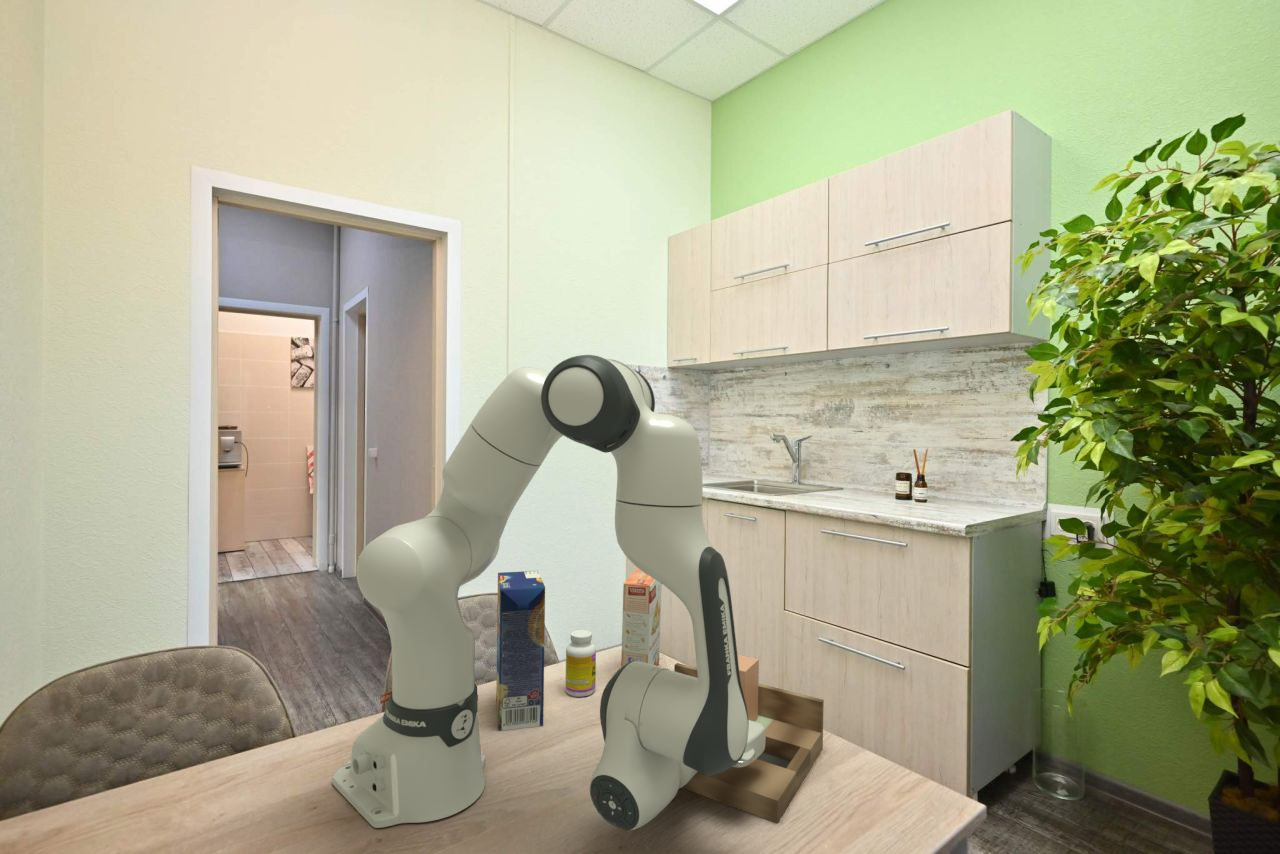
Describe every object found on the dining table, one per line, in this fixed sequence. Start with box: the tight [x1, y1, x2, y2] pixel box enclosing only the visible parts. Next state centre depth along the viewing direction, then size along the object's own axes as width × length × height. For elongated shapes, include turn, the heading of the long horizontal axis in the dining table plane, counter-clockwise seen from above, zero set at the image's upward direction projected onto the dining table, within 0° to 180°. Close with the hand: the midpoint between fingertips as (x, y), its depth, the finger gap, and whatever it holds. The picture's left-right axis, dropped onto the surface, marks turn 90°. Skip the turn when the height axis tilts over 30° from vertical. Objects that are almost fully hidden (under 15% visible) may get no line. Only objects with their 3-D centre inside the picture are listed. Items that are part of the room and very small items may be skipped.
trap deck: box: [673, 662, 825, 824], centre depth 98 cm, size 27×22×8 cm
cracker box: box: [620, 567, 663, 668], centre depth 127 cm, size 14×6×21 cm, turn 168°
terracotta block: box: [737, 654, 760, 722], centre depth 102 cm, size 6×6×10 cm
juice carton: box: [495, 570, 546, 732], centre depth 110 cm, size 12×8×24 cm, turn 15°
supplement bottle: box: [564, 629, 597, 698], centre depth 119 cm, size 6×6×11 cm
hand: (716, 705), depth 97 cm, fingers closed
